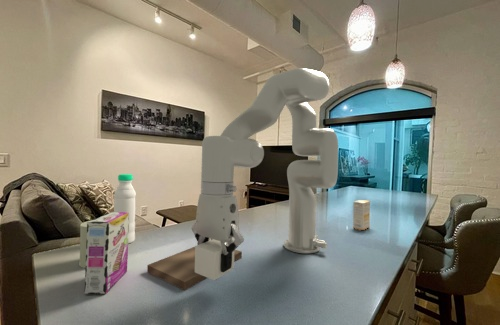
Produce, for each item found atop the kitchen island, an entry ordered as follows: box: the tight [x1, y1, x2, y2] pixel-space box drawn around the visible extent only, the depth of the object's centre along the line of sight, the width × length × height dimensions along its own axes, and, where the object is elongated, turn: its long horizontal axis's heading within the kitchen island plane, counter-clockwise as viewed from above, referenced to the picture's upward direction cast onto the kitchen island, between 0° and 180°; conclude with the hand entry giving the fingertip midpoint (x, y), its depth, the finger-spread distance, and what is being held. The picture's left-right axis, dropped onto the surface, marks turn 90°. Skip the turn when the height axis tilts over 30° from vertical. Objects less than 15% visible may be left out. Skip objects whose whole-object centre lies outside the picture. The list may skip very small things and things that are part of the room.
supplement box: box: [352, 199, 371, 231], centre depth 110 cm, size 8×5×13 cm, turn 133°
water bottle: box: [113, 173, 137, 245], centre depth 85 cm, size 7×7×25 cm
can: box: [78, 219, 93, 269], centre depth 69 cm, size 9×9×12 cm
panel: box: [146, 246, 243, 291], centre depth 68 cm, size 15×23×2 cm, turn 146°
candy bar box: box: [84, 211, 129, 295], centre depth 57 cm, size 11×5×16 cm, turn 5°
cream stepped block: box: [194, 237, 236, 281], centre depth 56 cm, size 6×10×6 cm, turn 146°
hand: (215, 265), depth 54 cm, fingers closed on cream stepped block, 6 cm apart
